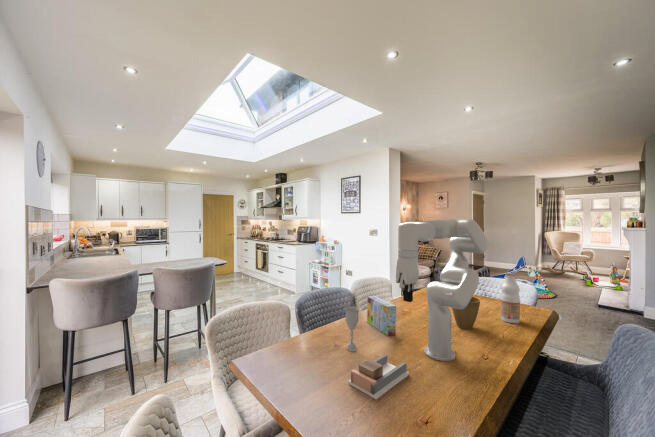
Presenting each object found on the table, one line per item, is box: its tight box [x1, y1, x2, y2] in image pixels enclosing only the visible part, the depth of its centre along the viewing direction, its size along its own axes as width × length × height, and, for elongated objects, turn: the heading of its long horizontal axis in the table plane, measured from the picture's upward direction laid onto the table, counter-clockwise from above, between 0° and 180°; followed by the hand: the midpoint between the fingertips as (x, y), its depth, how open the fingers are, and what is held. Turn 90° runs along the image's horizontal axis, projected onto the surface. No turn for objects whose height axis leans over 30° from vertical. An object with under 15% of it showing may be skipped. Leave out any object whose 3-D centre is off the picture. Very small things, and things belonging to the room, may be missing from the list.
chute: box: [347, 353, 410, 400], centre depth 101 cm, size 21×12×5 cm, turn 134°
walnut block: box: [358, 358, 383, 380], centre depth 97 cm, size 6×6×6 cm
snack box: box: [366, 295, 397, 337], centre depth 150 cm, size 21×6×15 cm, turn 22°
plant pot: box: [451, 296, 481, 330], centre depth 153 cm, size 15×15×16 cm
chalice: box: [344, 306, 361, 352], centre depth 125 cm, size 7×7×18 cm
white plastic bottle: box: [500, 272, 521, 324], centre depth 163 cm, size 9×9×28 cm
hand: (407, 301), depth 108 cm, fingers closed
